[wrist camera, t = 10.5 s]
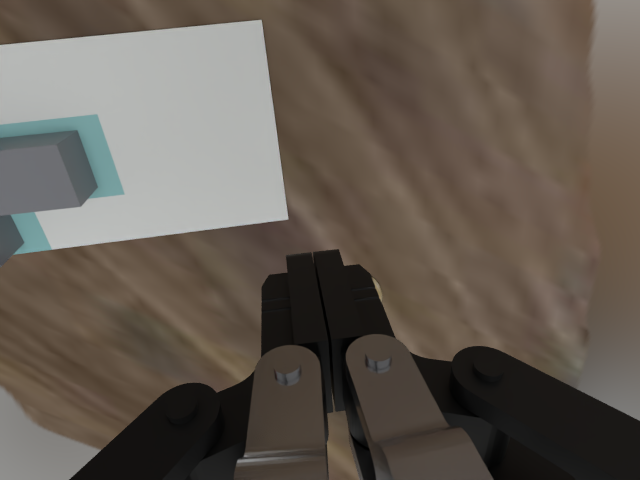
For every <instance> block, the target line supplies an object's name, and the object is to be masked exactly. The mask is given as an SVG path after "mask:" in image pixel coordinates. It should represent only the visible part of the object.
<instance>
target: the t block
mask: <svg viewBox="0 0 640 480" xmlns="http://www.w3.org/2000/svg"><path fill="white" fill-rule="evenodd" d="M97 188H98V186H97V183H96V180H95V177H94V175H93V172H92V169H91V166H90V164H89V161H88V158H87V155H86V153H85V150H84V147H83V144H82V141H81V139H80V136H79V133H78V130H74V131H64V132H54V133H44V134H34V135H24V136H14V137H4V138H0V267H1V266H2V265H3V264H4V263H5V262H6V261H7V260H8V259H9V258H10V257H11V256H12V255H13V254H14V253H15V252H16V251H17V250H18V249H19V248H20V247H21V246H22V245H23V244H24V241H23V239H22V237H21V235H20V233H19V231H18V229H17V227H16V225H15V223H14V221H13V219H12V217H11V215H12V214H21V213H30V212H39V211H48V210H57V209H66V208H75V207H81V206H82V205H83V204H84V203H85V202H86V201H87V199H88V198H89V197H90V196H91V195H92V194H93V193H94V191H95V190H96V189H97Z"/></svg>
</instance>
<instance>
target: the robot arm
mask: <svg viewBox="0 0 640 480" xmlns="http://www.w3.org/2000/svg"><path fill="white" fill-rule="evenodd" d="M286 260H287V271H288V273H281V274H272V275H269V276H268V278H267V279H266V281H265V282H264V284H263V286H262V335H261V358H260V360H259V361H258V363H257V365H256V367H255V371H254V372H253V373H252V374H251V375H250V376H249V377H248V378H246V379H245V380H244V381H242V382H240V383H239V384H236V385H234V386H232V387H230V388H227V389H225V390H222V391H220V392H218V393H216V391H215V390H214V389H213V388H211V387H210V386H208V385H205V384H201V383H187V384H182V385H179V386H176V387H174V388H172V389H170V390H168V391H167V392H165V393H164V394H162V395H161V396H160V397H159V398H158V399H157V400H156V401H154V402H153V403H152V404H151V405H150V406H149V407H148V408H147V409H146V410H145V411H144V412H142V413H141V414H140V415H139V416H138V417H137V418H136V419H135V420H134V421H133V422H132V423H131V424H129V425H128V426H127V427H126V428H125V429H124V430H123V431H122V432H121V433H120V434H119V435H117V436H116V437H115V438H114V439H113V440H112V441H111V442H110V443H109V444H108V445H107V446H106V447H104V448H103V449H102V450H101V451H100V452H99V453H98V454H97V455H96V456H95V457H94V458H93V459H91V460H90V461H89V462H88V463H87V464H86V465H85V466H84V467H83V468H82V469H80V471H78V472H77V473H76V474H75V475H74V476H73V477H72V478H71V479H70V480H329V472H328V456H327V440H328V435H329V432H328V418H327V413H331V412H333V405H332V394H333V399H334V405H335V411H336V412H337V411H344V410H345V411H346V416H347V421H348V431H349V443H350V447H351V450H352V454H353V457H354V461H355V464H356V468H357V472H358V475H359V479H360V480H640V421H639V420H637V419H634V418H633V417H631V416H629V415H627V414H625V413H623V412H621V411H619V410H617V409H615V408H613V407H611V406H609V405H607V404H605V403H603V402H601V401H599V400H597V399H595V398H593V397H591V396H589V395H587V394H585V393H583V392H581V391H579V390H577V389H575V388H573V387H571V386H569V385H567V384H565V383H563V382H561V381H559V380H557V379H555V378H553V377H551V376H549V375H547V374H545V373H543V372H541V371H539V370H538V369H536V368H534V367H532V366H530V365H528V364H526V363H524V362H522V361H520V360H518V359H516V358H514V357H512V356H510V355H508V354H506V353H504V352H502V351H499V350H497V349H494V348H490V347H484V346H473V347H468V348H465V349H463V350H461V351H459V352H458V353H457V354H456V355H455V356H454V358H453V361H452V362H450V361H442V360H434V359H428V358H423V357H420V356H417V355H415V354H412V353H411V352H409V350H408V349H407V347H406V346H405V345H404V344H403V343H402V342H400V341H399V340H397V339H396V338H395V336H394V333H393V331H392V328H391V325H390V323H389V320H388V318H387V315H386V313H385V310H384V308H383V305H382V302H381V300H380V299H379V295H378V292H377V290H376V289H375V284H374V282H373V279H372V277H371V274H370V273H369V272H367V271H366V270H365V269H364V268H363V267H362V266H360V265H359V264H358V265H349V266H344V265H343V261H342V258H341V255H340V252H339V249H336V250H327V251H318V252H313V258H312V253H311V252H310V253H301V254H292V255H286ZM313 260H314V263H313ZM331 388H332V390H331Z"/></svg>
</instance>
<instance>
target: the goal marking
mask: <svg viewBox="0 0 640 480" xmlns="http://www.w3.org/2000/svg"><path fill="white" fill-rule="evenodd" d="M74 130H78V133H79V136H80V139H81V141H82V144H83V147H84V150H85V153H86V155H87V158H88V161H89V164H90V166H91V169H92V172H93V175H94V177H95V180H96V183H97V186H98V188H97V189H96V190H95V191H94V193H93V194H92V195H91V196H90V197H89V198H88V199H91V198H99V197H108V196H116V195H124V194H125V193H124V190H123V188H122V185H121V182H120V179H119V176H118V173H117V170H116V167H115V164H114V161H113V158H112V156H111V153H110V150H109V147H108V144H107V141H106V138H105V135H104V132H103V129H102V126H101V124H100V121H99V118H98V115H97V114H94V115H85V116H76V117H66V118H57V119H48V120H39V121H29V122H20V123H11V124H2V125H0V138H4V137H14V136H24V135H34V134H44V133H54V132H64V131H74ZM11 217H12V219H13V221H14V223H15V225H16V227H17V229H18V231H19V233H20V235H21V237H22V239H23V241H24V244H23V245H22V246H21V247H20V248H19V249H18V250H17V251H16V252H15V253H14V254H21V253H29V252H37V251H45V250H52V248H51V246H50V244H49V242H48V240H47V238H46V235H45V233H44V231H43V229H42V227H41V225H40V223H39V221H38V219H37V216H36V214H35V212H30V213H21V214H12V215H11Z"/></svg>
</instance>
